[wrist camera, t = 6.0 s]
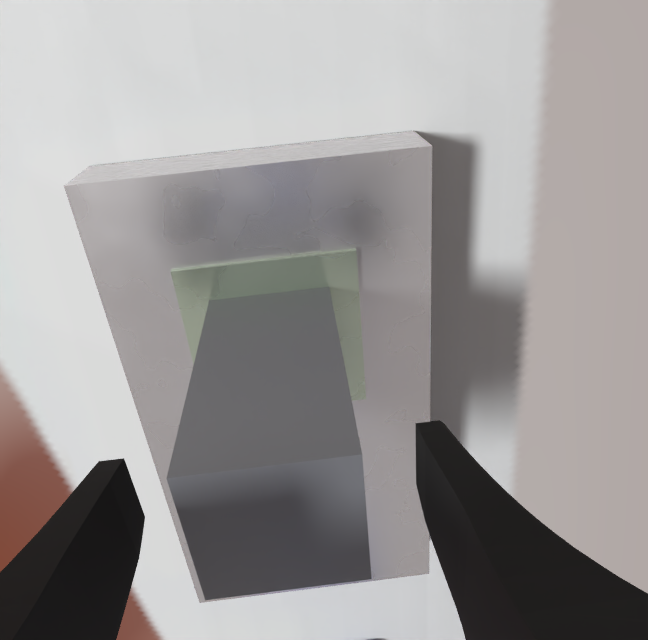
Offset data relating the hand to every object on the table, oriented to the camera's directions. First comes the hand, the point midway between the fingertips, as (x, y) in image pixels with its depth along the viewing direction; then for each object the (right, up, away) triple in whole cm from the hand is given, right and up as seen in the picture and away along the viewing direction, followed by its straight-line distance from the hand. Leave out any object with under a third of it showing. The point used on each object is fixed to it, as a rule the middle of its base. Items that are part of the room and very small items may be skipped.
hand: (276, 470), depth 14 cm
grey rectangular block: (0, +3, +6) cm, 6 cm away
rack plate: (0, +1, +10) cm, 10 cm away
